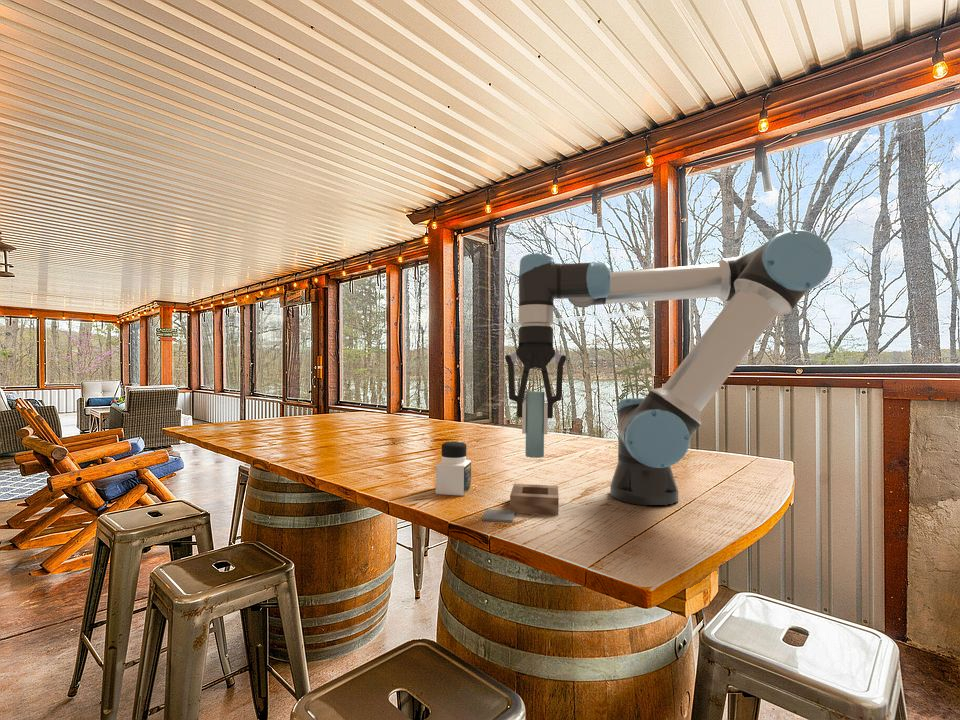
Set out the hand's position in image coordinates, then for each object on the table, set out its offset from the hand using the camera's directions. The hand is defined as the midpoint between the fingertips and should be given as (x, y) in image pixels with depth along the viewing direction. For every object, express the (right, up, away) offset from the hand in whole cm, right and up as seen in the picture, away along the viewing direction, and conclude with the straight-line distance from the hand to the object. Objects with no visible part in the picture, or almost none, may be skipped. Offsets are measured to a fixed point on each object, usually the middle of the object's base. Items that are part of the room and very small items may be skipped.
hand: (534, 432), depth 102 cm
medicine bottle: (-18, -16, +12) cm, 27 cm away
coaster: (-8, -16, -7) cm, 19 cm away
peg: (0, -5, 0) cm, 5 cm away
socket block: (0, -16, 0) cm, 16 cm away
